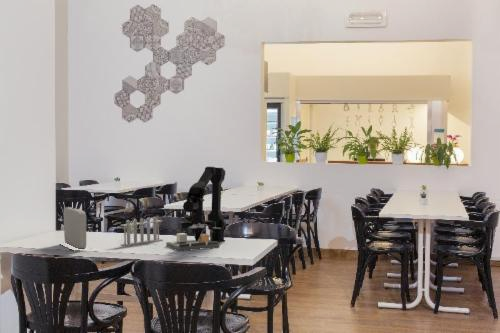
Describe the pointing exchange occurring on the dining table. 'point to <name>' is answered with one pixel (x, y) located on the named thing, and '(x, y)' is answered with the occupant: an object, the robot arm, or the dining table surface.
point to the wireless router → (75, 227)
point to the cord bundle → (198, 244)
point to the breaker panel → (176, 246)
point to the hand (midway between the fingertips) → (196, 241)
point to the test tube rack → (141, 231)
